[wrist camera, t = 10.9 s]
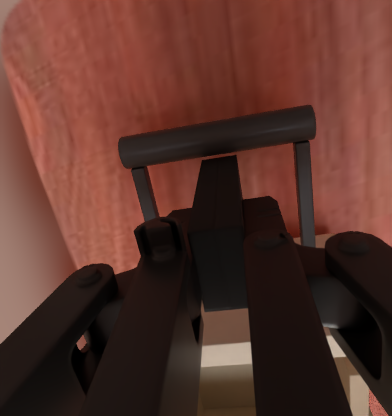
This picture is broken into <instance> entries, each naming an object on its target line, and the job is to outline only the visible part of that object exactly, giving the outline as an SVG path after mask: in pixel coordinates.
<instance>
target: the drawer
mask: <svg viewBox="0 0 392 416" xmlns="http://www.w3.org/2000/svg"><path fill="white" fill-rule="evenodd" d="M315 135H316V119H315V113H314V109H313V107H312V105H303V106H297V107H291V108H286V109H280V110H274V111H268V112H262V113H257V114H251V115H245V116H239V117H234V118H228V119H222V120H216V121H210V122H205V123H199V124H193V125H187V126H182V127H176V128H170V129H164V130H158V131H153V132H147V133H141V134H135V135H130V136H124V137H121V138H120V139H119V142H118V150H119V156H120V159H121V162H122V164H123V166H124V167H125V168H126V169H131V168H132V169H131V172H132V176H133V179H134V183H135V187H136V190H137V194H138V198H139V202H140V205H141V209H142V213H143V216H144V220H145V222H146V221H148V220H151V219H154V218H159V217H160V216H159V212H158V208H157V205H156V201H155V197H154V193H153V189H152V185H151V181H150V177H149V173H148V169H147V166H150V165H156V164H163V163H169V162H175V161H182V160H188V159H194V158H200V157H207V156H213V155H219V154H226V153H232V152H238V151H244V150H251V149H257V148H263V147H270V146H276V145H282V144H288V143H293V151H294V164H295V177H296V190H297V203H298V216H299V229H300V237H298V238H293V239H294V242H295V243H297V244H300V245H303V246H307V247H315V248H325V242H326V240H327V239H328V238H330V237H331V236H333V235H335V233H331V234H323V235H315V224H314V207H313V190H312V173H311V155H310V142H309V141H308V140H313V139H314V138H315ZM201 313H202V318H203V323H204V330H203V344H202V357H201V370H200V383H199V397H198V410H197V416H256V407H255V394H254V381H253V368H252V355H251V342H250V329H249V316H248V308H245V309H234V310H224V311H213V312H204V307H203V303H201ZM323 328H324V331H325V334H326V337H327V340H328V343H329V346H330V349H331V352H332V355H333V358H334V361H335V364H336V367H337V370H338V373H339V376H340V379H341V382H342V385H343V388H344V391H345V394H346V397H347V399H348V402H349V405H350V408H351V411H352V414H353V416H369V387H368V386H367V384H366V383H365V382H364V380H363V379H362V377H361V376H360V375H359V373H358V372H357V370H356V369H355V368H354V366H353V365H352V363H351V362H350V361H349V359H348V358H347V356H346V355H345V354H344V352H343V351H342V350H341V348H340V347H339V345H338V344H337V343H336V341H335V340H334V338H333V337H332V336H331V333H330V331H329V328H328V327H323Z"/></svg>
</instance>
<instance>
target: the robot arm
mask: <svg viewBox="0 0 392 416" xmlns="http://www.w3.org/2000/svg"><path fill="white" fill-rule="evenodd" d="M134 234H135V237H136V241H137V244H138V248H139V251H140V255H141V258H140V261H139V263H138V266H137V268H134V269H132V270H129V271H126V272H122V273H119V274H116V275H115V274H114V271H113V268H112V267H111V266H110V265H108V264H103V263H100V264H90V265H89V266H88V265H87V266H84V267H82V268H81V269H79V270H77V271H75V272H74V273H73V274H71V275H70V276H69V277H68V278H67V279H66V280H65V281H64V282H63V283H62V284H61V285H60V286H59V287H58V288H57V289H56V290H55V291H54V292H53V293H52V294H51V295H50V296H49V297H48V298H47V299H46V300H45V301H44V302H43V303H42V304H41V305H40V306H39V307H38V308H37V309H35V311H34V312H33V313H31V315H29V317H27V318H26V319H25V320H24V321H23V322H22V323H21V325H19V327H17V328H16V329H15V330H14V331H13V332H12V333H11V334H10V335H9V336H8V337H7V338H6V339H5V340H4V341H3V342H2V343H1V344H0V416H197V410H198V397H199V383H200V370H201V357H202V344H203V330H204V323H203V318H202V313H201V303H203V307H204V312H213V311H224V310H234V309H245V308H248V316H249V329H250V342H251V355H252V368H253V381H254V394H255V407H256V416H353V414H352V411H351V408H350V405H349V402H348V399H347V397H346V394H345V391H344V388H343V385H342V382H341V379H340V376H339V373H338V370H337V367H336V364H335V361H334V358H333V355H332V352H331V349H330V346H329V343H328V340H327V337H326V334H325V331H324V328H323V327H328V328H329V331H330V333H331V336H332V337H333V338H334V340H335V341H336V343H337V344H338V345H339V347H340V348H341V350H342V351H343V352H344V354H345V355H346V356H347V358H348V359H349V361H350V362H351V363H352V365H353V366H354V368H355V369H356V370H357V372H358V373H359V375H360V376H361V377H362V379H363V380H364V382H365V383H366V384H367V386H368V387H369V389H370V390H371V391H372V393H373V394H374V396H375V397H376V398H377V400H378V401H379V403H380V404H381V405H382V407H383V408H384V409H385V411H386V412H387V414H388V415H389V416H392V247H390V246H389V245H388V244H386V243H385V242H384V241H382V240H381V239H379V238H377V237H375V236H373V235H371V234H367V233H363V232H358V231H355V232H353V231H348V232H343V233H338V234H336V235H333V236H331V237H330V238H328V239H327V240H326V242H325V248H315V247H307V246H303V245H300V244H297V243H295V242H294V239H293V237H292V236H291V235H290V233H288V232H287V230H286V227H285V224H284V221H283V218H282V215H281V211H280V209H279V205H278V202H277V201H276V200H275V199H273V198H272V197H270V196H265V197H258V198H251V199H244V200H243V197H242V190H241V183H240V177H239V170H238V163H237V156H236V155H232V156H226V157H219V158H213V159H207V160H202V162H201V167H200V172H199V177H198V182H197V186H196V191H195V196H194V201H193V206H192V208H187V209H180V210H173V211H172V212H171V213H170V214H169V215H168V216H166V217H159V218H154V219H151V220H148V221H146V222H144V223H142V224H140V225H139V226H137V228H136V229H135V230H134ZM82 335H84V337H85V339H86V342H87V343H86V345H85V346H84V348H82V349H81V350H79V349H78V347H77V344H76V343H77V341H78V340H79V339H80V338H81V336H82Z"/></svg>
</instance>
